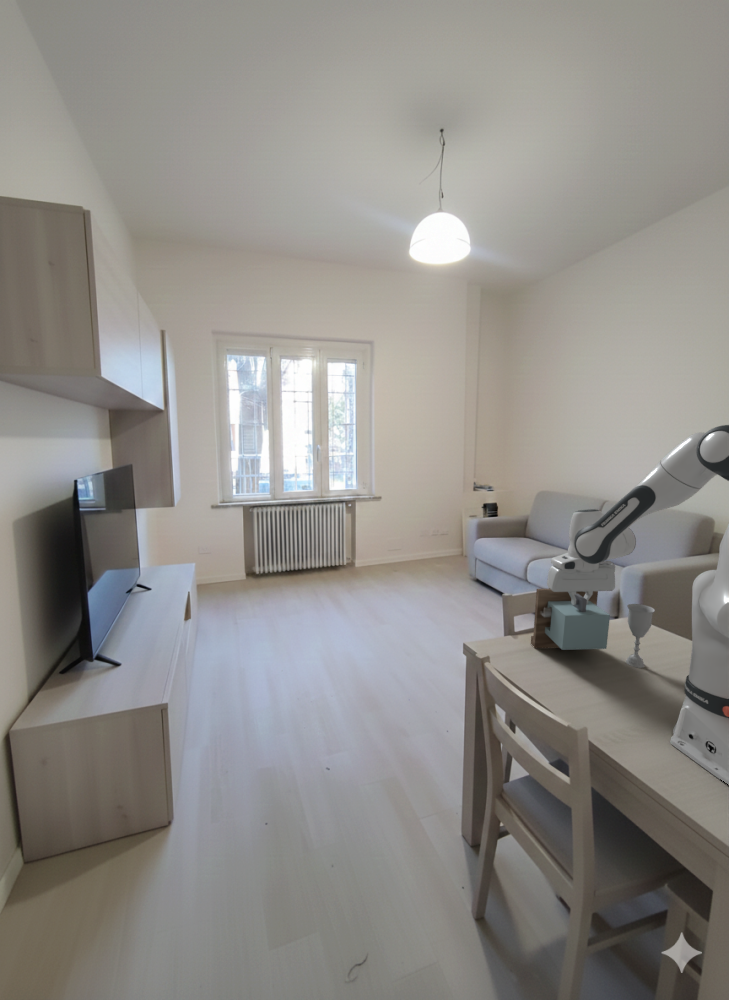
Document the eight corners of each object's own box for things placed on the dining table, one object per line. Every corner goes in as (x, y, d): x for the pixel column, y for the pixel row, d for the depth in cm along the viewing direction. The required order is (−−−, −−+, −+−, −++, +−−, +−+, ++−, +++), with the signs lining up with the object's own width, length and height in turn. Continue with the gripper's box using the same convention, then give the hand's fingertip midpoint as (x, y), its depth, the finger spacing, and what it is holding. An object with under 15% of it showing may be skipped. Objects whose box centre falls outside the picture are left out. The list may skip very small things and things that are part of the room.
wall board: (598, 651, 145) (603, 592, 142) (538, 652, 144) (542, 593, 141) (587, 643, 151) (592, 586, 148) (530, 644, 150) (534, 587, 147)
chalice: (641, 658, 141) (647, 604, 138) (653, 669, 134) (659, 612, 131) (617, 657, 141) (622, 603, 139) (628, 668, 135) (633, 611, 132)
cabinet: (606, 648, 136) (611, 602, 134) (562, 649, 135) (566, 602, 133) (585, 631, 147) (590, 588, 145) (544, 632, 146) (548, 589, 144)
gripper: (609, 558, 140) (605, 600, 142) (546, 558, 139) (543, 601, 141) (622, 563, 134) (617, 607, 136) (556, 564, 132) (553, 608, 134)
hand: (579, 604), depth 138 cm, fingers closed
